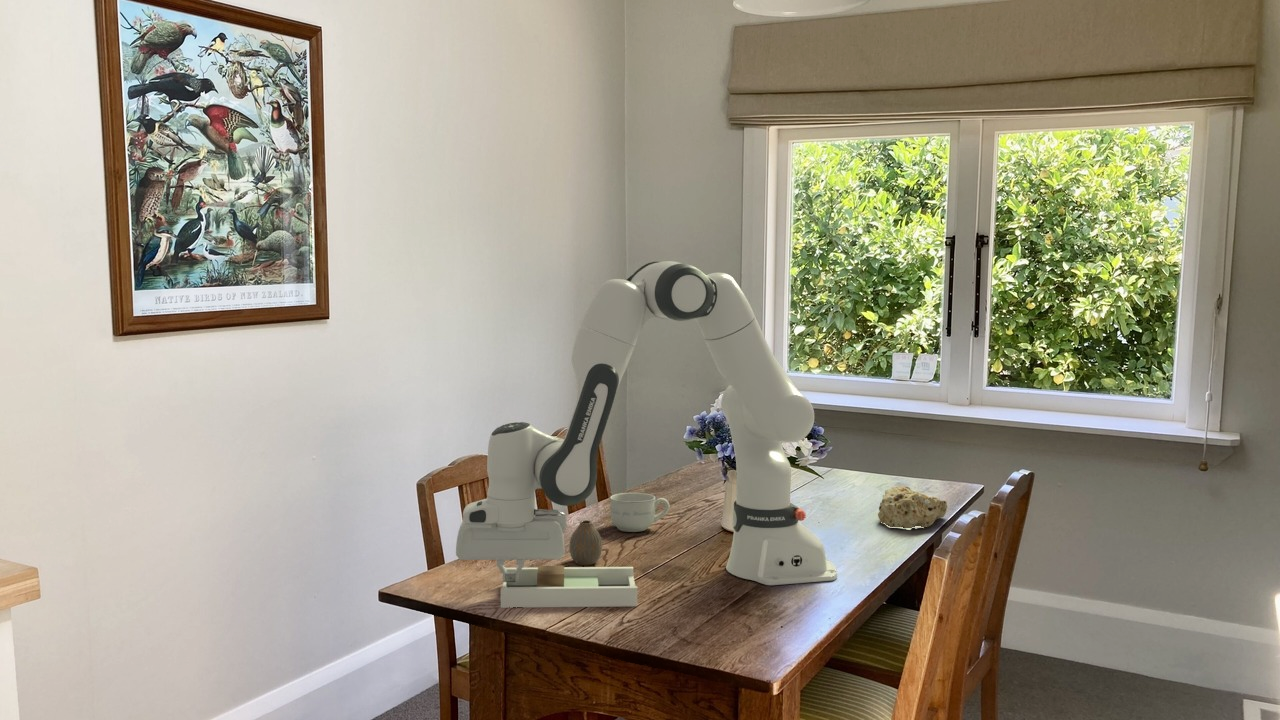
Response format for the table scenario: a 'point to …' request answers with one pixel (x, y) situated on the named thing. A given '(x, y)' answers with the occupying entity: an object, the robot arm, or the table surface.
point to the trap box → (573, 589)
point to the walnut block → (550, 576)
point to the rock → (909, 508)
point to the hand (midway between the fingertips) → (510, 581)
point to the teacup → (635, 511)
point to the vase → (585, 544)
